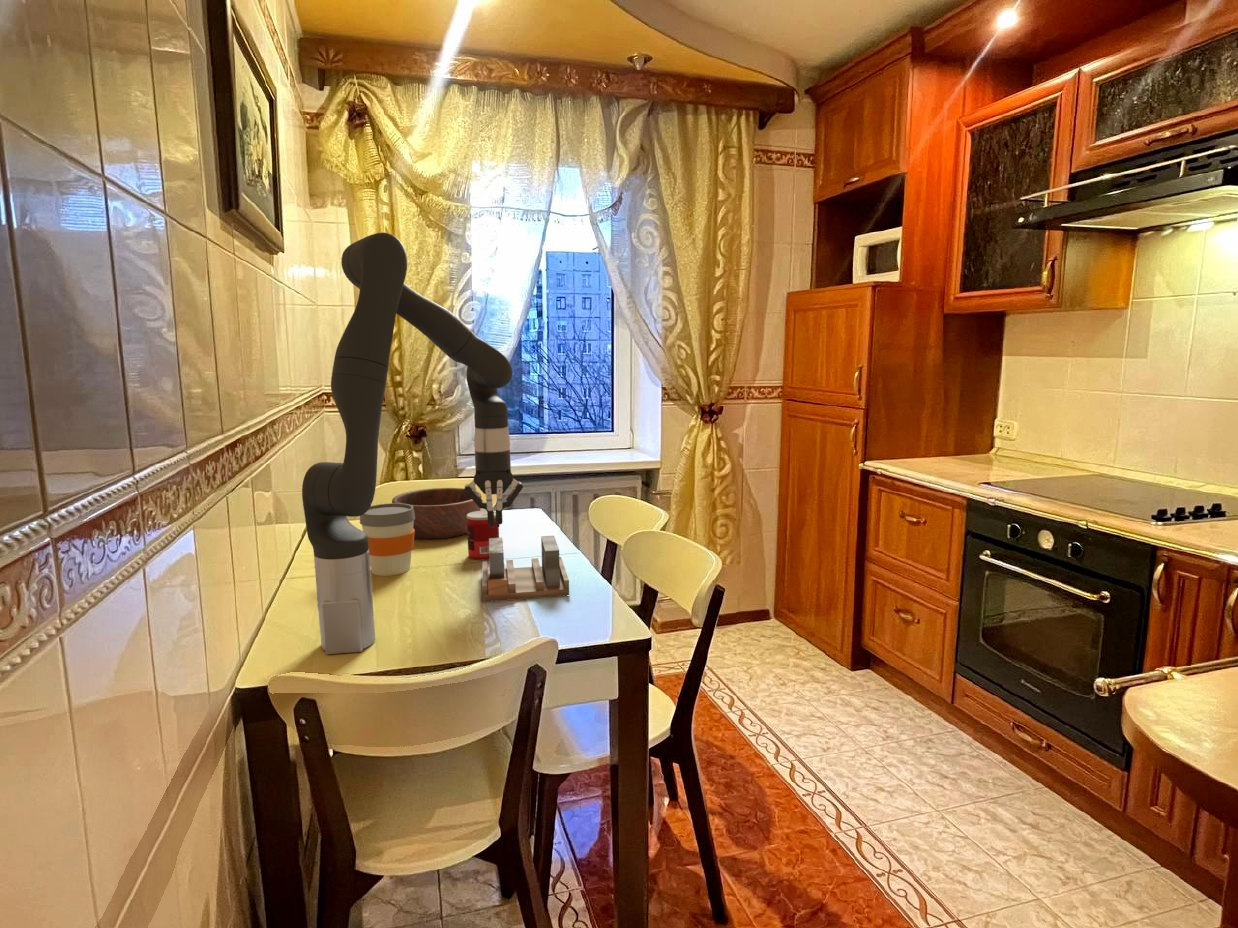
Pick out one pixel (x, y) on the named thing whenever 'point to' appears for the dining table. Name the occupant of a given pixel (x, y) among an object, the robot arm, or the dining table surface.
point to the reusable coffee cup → (389, 537)
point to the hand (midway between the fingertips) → (495, 526)
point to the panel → (496, 558)
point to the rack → (529, 577)
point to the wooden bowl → (439, 511)
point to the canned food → (480, 534)
